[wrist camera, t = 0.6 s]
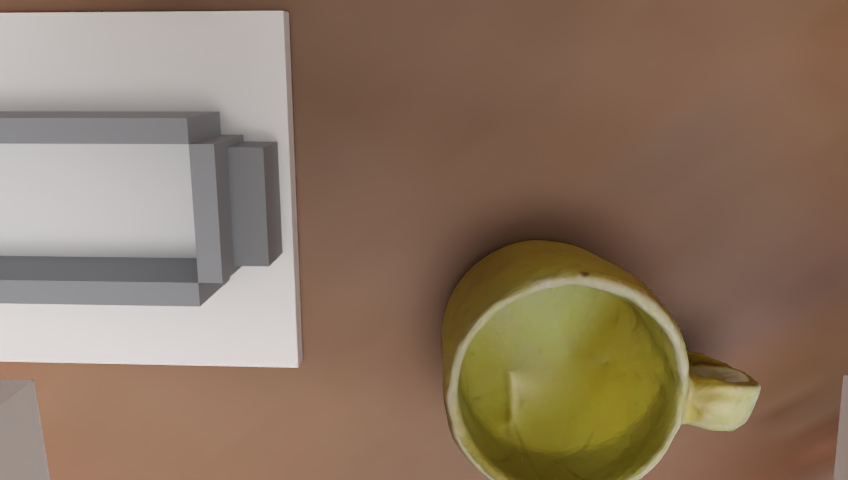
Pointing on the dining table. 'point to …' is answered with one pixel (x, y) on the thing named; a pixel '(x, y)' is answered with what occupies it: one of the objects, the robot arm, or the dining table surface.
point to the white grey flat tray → (148, 189)
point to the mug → (573, 369)
